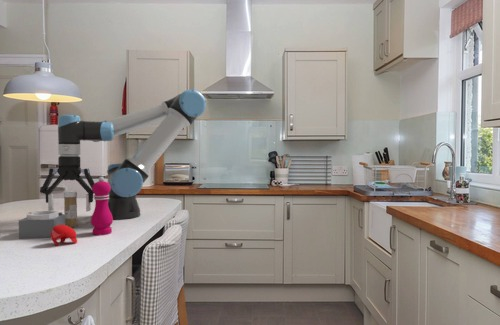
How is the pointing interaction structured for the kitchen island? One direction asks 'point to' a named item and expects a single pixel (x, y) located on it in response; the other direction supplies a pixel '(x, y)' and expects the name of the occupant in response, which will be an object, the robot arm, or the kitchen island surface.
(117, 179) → the robot arm
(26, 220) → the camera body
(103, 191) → the pepper mill
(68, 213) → the sprinkles bottle
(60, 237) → the red animal figurine
